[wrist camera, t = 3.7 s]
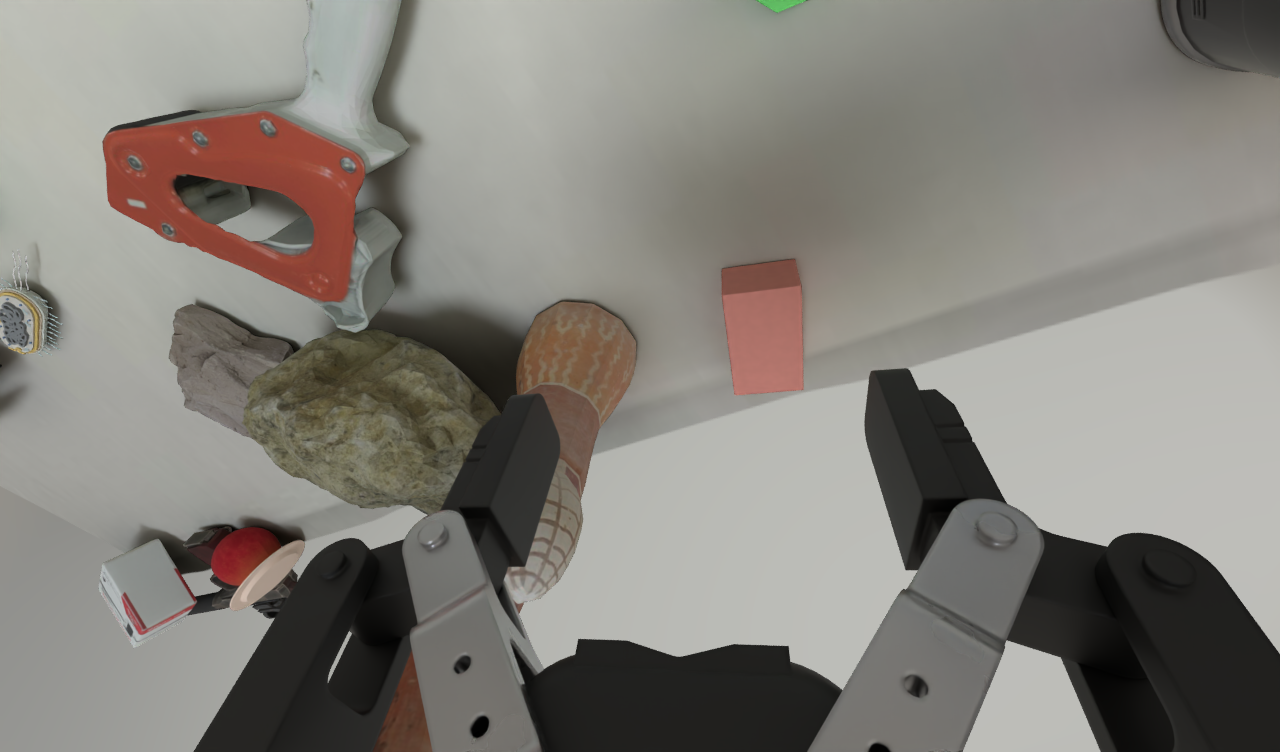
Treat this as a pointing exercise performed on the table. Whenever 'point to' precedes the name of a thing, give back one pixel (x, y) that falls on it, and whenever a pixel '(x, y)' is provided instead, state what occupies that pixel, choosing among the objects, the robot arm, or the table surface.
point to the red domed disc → (253, 563)
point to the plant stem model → (579, 405)
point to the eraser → (764, 326)
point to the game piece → (779, 4)
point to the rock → (369, 418)
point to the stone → (220, 363)
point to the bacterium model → (24, 317)
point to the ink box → (145, 592)
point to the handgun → (268, 604)
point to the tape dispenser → (281, 169)
